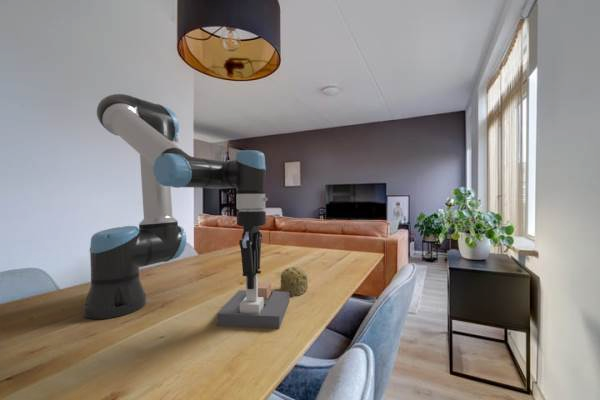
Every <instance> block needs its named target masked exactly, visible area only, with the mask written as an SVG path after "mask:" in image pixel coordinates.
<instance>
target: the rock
mask: <svg viewBox="0 0 600 400" xmlns="http://www.w3.org/2000/svg"><path fill="white" fill-rule="evenodd" d="M308 283H309V281H308V275H307V273H306V271H305V270H304V269H303V268H301V267H297V266H290V267H288V268H285V269H284V270H283V271H282V272H281V274H280V292H289V297H295V296H297V297H298V296H301V295H303V294H304V293H306V292H307V290H308V287H309V286H308V285H309V284H308Z"/></svg>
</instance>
